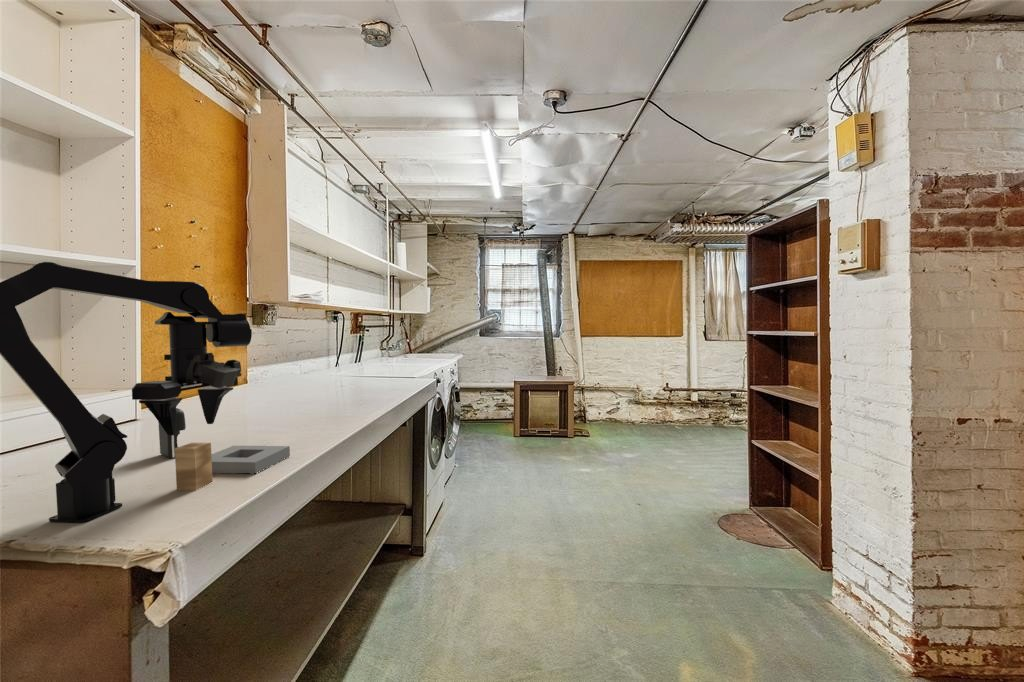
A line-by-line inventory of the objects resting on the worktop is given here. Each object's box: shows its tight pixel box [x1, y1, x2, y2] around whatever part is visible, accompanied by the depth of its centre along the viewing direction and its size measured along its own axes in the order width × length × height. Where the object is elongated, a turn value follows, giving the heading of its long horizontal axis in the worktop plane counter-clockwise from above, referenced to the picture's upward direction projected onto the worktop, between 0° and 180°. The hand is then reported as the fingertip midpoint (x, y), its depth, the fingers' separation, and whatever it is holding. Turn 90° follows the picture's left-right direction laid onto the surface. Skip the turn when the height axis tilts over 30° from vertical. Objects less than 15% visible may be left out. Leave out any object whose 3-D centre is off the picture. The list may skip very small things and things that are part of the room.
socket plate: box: [211, 445, 291, 474], centre depth 98 cm, size 12×14×2 cm
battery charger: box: [157, 407, 187, 459], centre depth 106 cm, size 7×4×11 cm, turn 54°
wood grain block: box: [174, 442, 214, 491], centre depth 85 cm, size 4×4×8 cm
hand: (191, 429), depth 85 cm, fingers open, 9 cm apart
